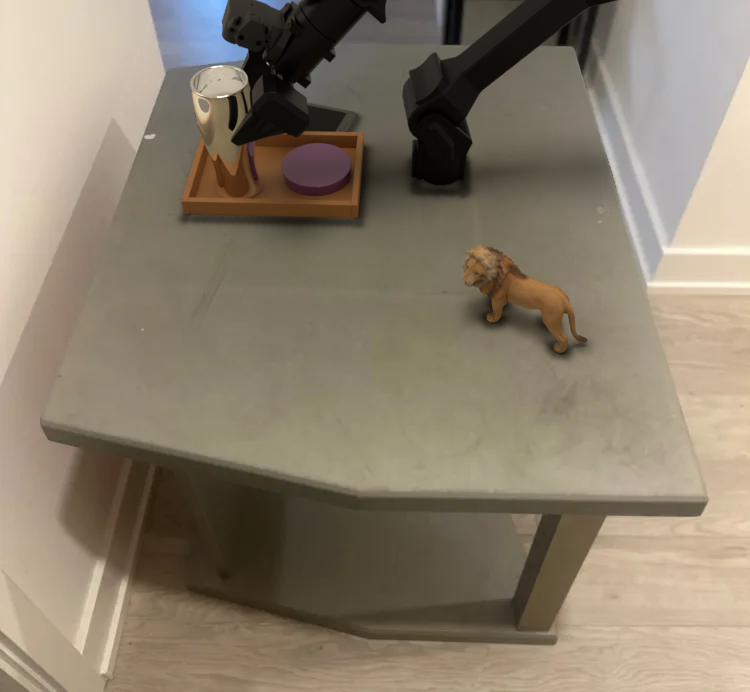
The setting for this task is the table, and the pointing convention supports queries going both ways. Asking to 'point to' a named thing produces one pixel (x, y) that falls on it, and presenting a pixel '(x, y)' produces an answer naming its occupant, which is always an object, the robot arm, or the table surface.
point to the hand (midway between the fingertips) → (233, 119)
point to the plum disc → (316, 169)
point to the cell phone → (329, 119)
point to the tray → (277, 181)
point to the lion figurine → (518, 291)
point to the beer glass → (226, 128)
